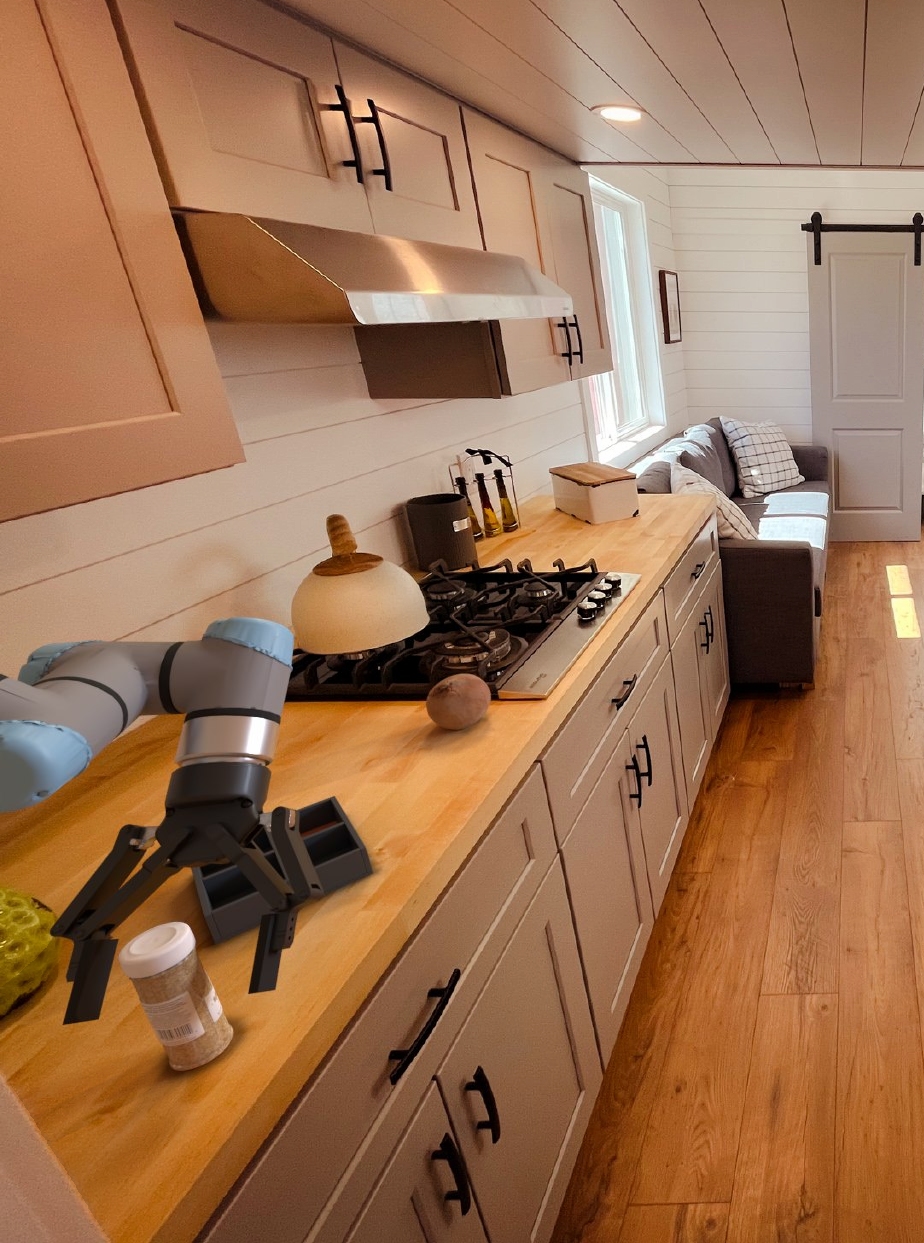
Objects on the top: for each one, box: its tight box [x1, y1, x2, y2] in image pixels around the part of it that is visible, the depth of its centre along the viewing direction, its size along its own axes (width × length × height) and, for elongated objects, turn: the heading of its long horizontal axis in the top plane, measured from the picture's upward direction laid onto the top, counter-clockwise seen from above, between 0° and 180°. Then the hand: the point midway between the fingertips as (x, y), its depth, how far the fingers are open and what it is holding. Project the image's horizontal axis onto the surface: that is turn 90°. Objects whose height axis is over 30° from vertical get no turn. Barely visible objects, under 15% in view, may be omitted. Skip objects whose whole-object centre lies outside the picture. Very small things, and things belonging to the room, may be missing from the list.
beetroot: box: [425, 673, 492, 731], centre depth 119 cm, size 10×9×10 cm
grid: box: [190, 795, 374, 946], centre depth 86 cm, size 15×15×4 cm
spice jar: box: [118, 921, 234, 1072], centre depth 64 cm, size 5×5×14 cm
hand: (173, 1007), depth 63 cm, fingers open, 13 cm apart
